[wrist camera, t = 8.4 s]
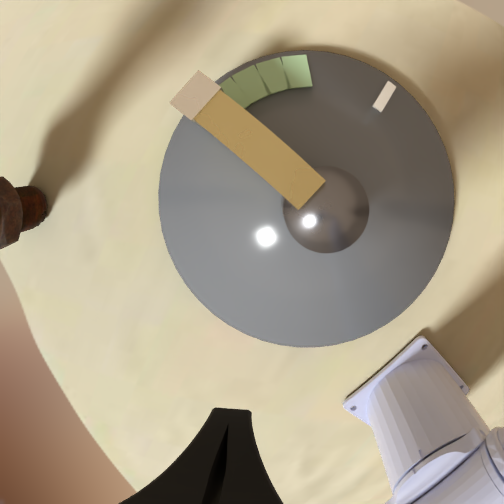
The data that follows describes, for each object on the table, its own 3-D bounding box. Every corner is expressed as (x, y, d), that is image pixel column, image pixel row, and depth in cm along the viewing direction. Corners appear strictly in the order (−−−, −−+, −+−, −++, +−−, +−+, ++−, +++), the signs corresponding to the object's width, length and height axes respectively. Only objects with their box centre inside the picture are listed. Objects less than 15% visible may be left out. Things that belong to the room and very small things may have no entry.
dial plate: (486, 202, 17) (496, 204, 16) (313, 382, 21) (315, 393, 20) (298, 7, 15) (299, -1, 14) (112, 215, 19) (103, 218, 18)
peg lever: (367, 202, 17) (388, 210, 13) (319, 254, 17) (329, 273, 14) (224, 75, 15) (213, 55, 12) (176, 129, 16) (155, 119, 13)
